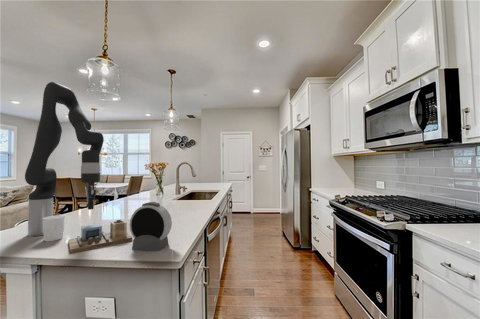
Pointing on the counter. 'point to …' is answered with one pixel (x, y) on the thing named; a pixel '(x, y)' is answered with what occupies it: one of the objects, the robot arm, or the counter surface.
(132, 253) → the counter surface
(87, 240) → the jig board
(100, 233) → the block
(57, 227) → the white cup
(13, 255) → the counter surface
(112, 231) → the collar
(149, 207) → the alarm clock
